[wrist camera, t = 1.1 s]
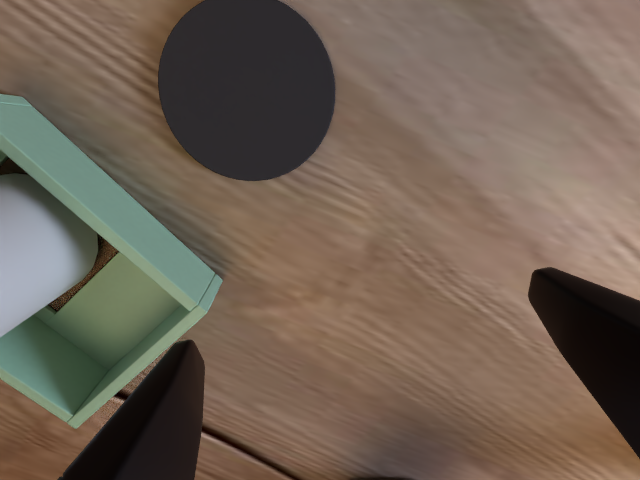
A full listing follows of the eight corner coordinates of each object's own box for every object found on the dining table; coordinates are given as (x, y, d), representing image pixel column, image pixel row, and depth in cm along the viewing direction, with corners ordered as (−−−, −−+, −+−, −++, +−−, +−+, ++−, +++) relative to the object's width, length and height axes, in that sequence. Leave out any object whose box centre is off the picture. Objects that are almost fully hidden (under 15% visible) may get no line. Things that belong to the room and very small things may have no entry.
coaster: (327, 185, 22) (327, 186, 22) (165, 174, 22) (162, 175, 21) (342, 5, 19) (343, 2, 19) (155, -17, 19) (152, -19, 18)
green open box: (223, 280, 24) (207, 312, 20) (112, 379, 25) (75, 429, 21) (22, 95, 20) (-54, 86, 15) (-94, 228, 21) (-192, 252, 17)
